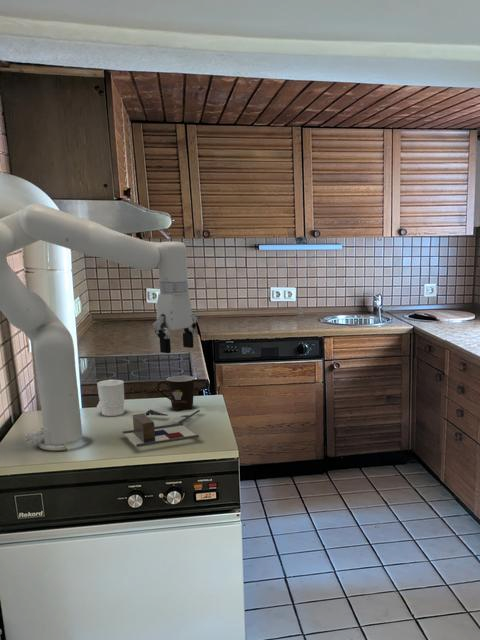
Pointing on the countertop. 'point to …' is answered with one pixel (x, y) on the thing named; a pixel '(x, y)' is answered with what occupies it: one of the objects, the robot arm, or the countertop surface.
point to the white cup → (111, 397)
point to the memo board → (162, 438)
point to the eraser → (144, 428)
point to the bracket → (167, 415)
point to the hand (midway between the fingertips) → (177, 349)
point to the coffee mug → (180, 392)
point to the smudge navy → (160, 432)
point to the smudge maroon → (174, 435)
